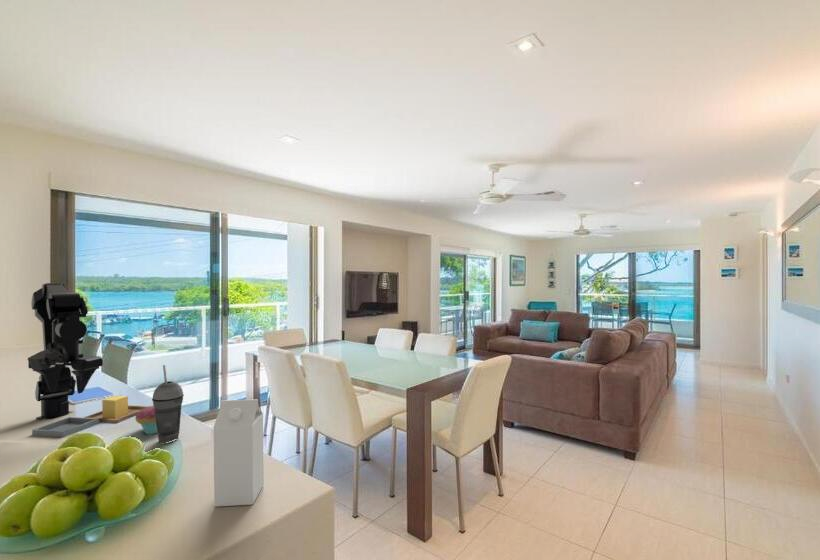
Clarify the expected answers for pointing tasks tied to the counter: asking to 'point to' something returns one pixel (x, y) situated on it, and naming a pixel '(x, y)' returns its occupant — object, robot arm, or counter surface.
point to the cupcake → (147, 420)
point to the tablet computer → (89, 395)
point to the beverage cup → (168, 409)
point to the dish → (65, 427)
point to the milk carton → (238, 453)
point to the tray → (131, 412)
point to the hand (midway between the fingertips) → (66, 392)
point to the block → (115, 406)
